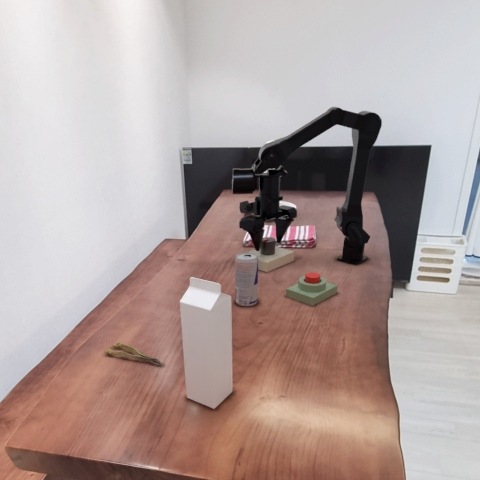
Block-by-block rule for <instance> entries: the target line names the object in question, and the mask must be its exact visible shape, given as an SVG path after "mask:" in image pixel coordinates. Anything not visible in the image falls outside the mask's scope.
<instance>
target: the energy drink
mask: <svg viewBox="0 0 480 480" xmlns="http://www.w3.org/2000/svg"><path fill="white" fill-rule="evenodd" d="M234 262H235V263H234V264H235V265H234V267H235V268H234V270H235V273H234V274H235V277H234V279H235V303H236V304H237V305H238V306H241V307H252V306H255V305H256V304H257V303H258V298H259V297H258V296H259V295H258V293H259V270H258V258H257V255H256V254H254V253H246V252H241V253H238V254H236V255H235V260H234Z"/></svg>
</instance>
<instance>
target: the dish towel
mask: <svg viewBox="0 0 480 480" xmlns="http://www.w3.org/2000/svg"><path fill="white" fill-rule="evenodd" d="M263 229H264V235H263V238H265V237H272V238H275V239H276V225H268V224H264V227H263ZM242 242H243V243H242V245H243V246H244V247H254V244H253V242H252V239H251V236H250V234H249V233H248V232H247V231H246V233H245V234H244V238H243V241H242ZM316 243H317V233H316V225H314V224H313V225H297V226H296V225H295V226H293V225H292V226H291V225H290V226H289V228H288V229H287V231H286V233H285V235H284V237H283V238H282V240H281V242H280V243H277V242H276V247H280V248H284V249H286V248H293V249H296V248H297V249H300V248H301V249H306V248H307V249H308V248H309V249H312V248H313V246H315V245H316Z"/></svg>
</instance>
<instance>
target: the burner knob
mask: <svg viewBox="0 0 480 480" xmlns="http://www.w3.org/2000/svg"><path fill="white" fill-rule="evenodd" d="M275 247H276V239H275V238H272V237H265V238H263V239H262V243H261V247H260V253H261V254H262V255H273V254H275Z"/></svg>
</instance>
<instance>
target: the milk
mask: <svg viewBox="0 0 480 480" xmlns="http://www.w3.org/2000/svg"><path fill="white" fill-rule="evenodd" d="M179 310H180V313H179V314H180V322H181V324H180V325H181V338H182V353H183V354H182V355H183V365H184V366H183V367H184V379H185V394H186V398H187V399H189V400H192V401H194V402H196V403H199V404H201V405H203V406H206V407H208V408H210V409H213V410H216V408H217V407H218V406H219V405H220V404H221V403H222V402H224V401H225V400H226V398H228V396H230V395H231V394H232V393H233V390H234V388H233V387H234V384H233V382H234V381H233V377H234V376H233V320H232V319H233V318H232V317H233V316H232V296H231V295H229V294H226V293H223V292H222V285H221V284H220V283H218V282H214V281H211V280H206V279H201V278H197V277H193V276H190V277H189V286H188V288H187V289H186V291H185V292H184V294H183V296H182V297H181V298H180V300H179Z"/></svg>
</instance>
